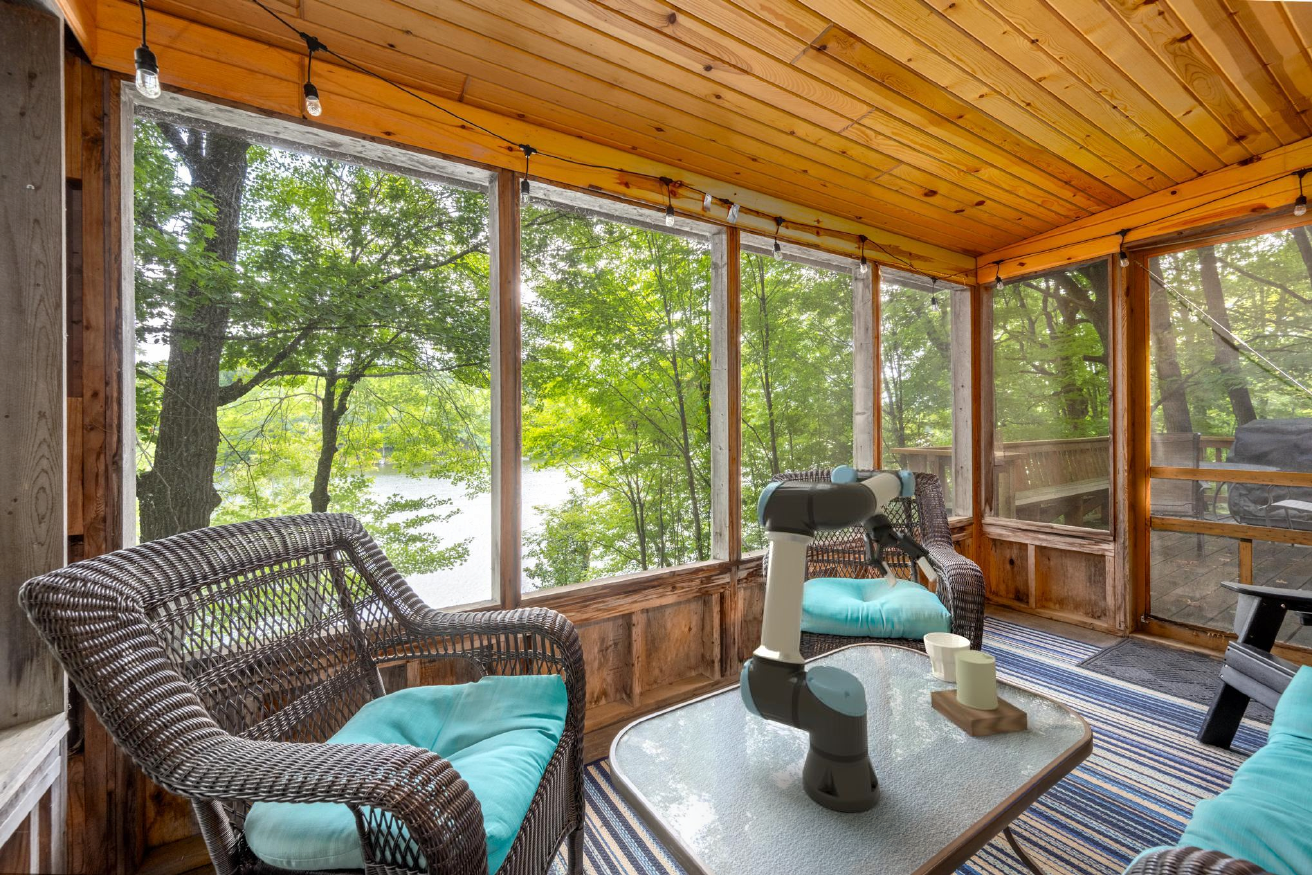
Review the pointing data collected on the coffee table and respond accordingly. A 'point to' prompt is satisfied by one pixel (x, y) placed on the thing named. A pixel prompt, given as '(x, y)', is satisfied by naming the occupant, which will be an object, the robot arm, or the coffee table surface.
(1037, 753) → the coffee table surface
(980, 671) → the can
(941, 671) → the cup
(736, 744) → the coffee table surface
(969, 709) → the plinth
